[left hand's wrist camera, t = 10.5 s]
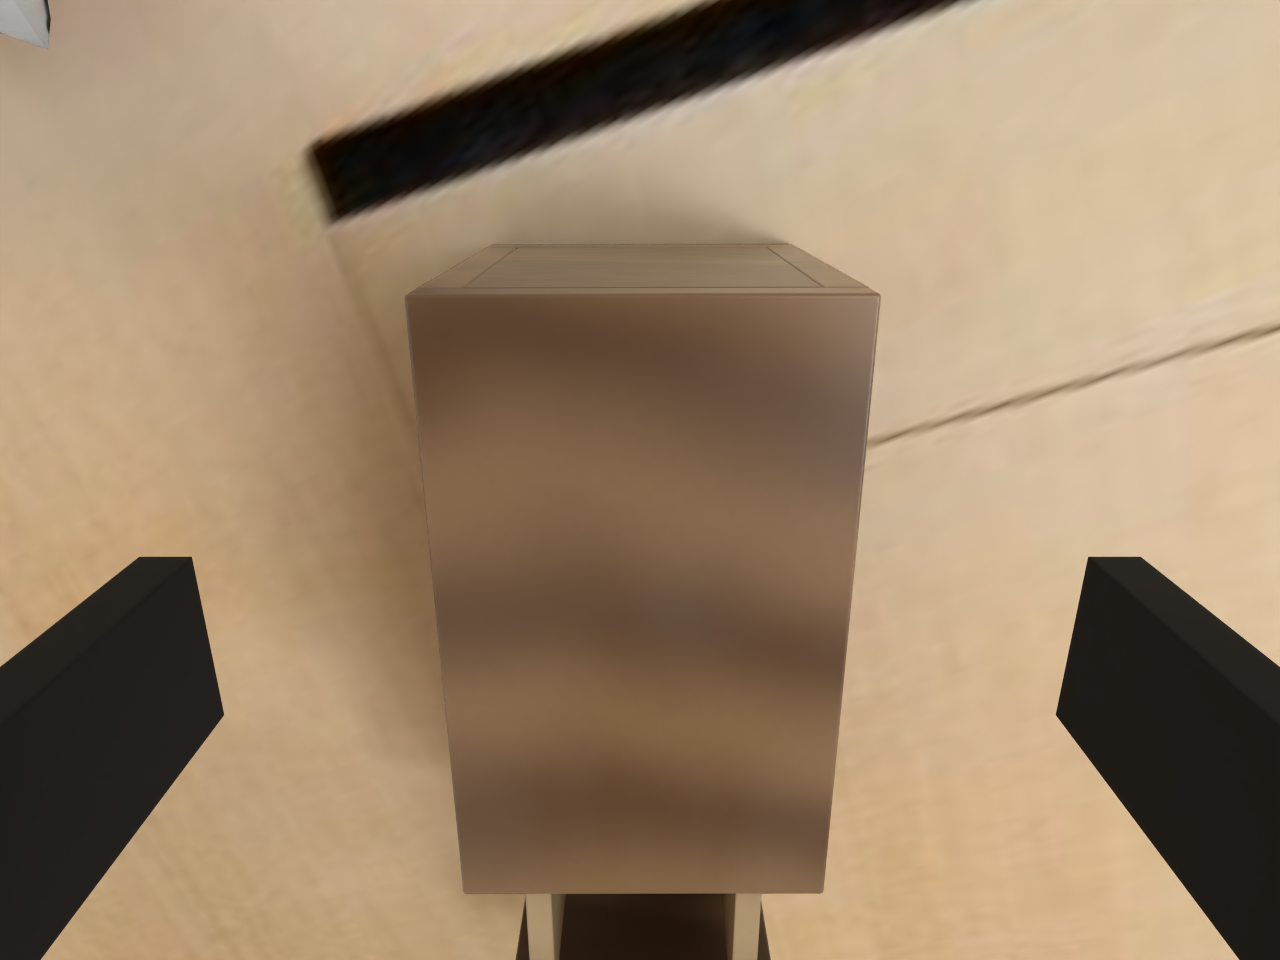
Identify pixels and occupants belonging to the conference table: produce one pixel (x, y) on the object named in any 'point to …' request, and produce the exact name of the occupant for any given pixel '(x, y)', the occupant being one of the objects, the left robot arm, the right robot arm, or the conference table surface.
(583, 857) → the cabinet
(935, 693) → the conference table surface
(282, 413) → the conference table surface
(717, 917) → the drawer
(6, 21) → the fish
